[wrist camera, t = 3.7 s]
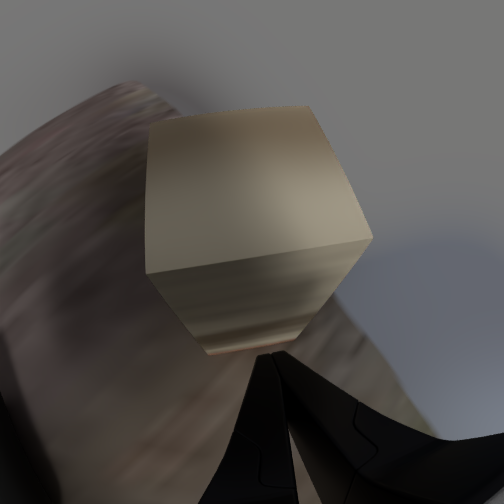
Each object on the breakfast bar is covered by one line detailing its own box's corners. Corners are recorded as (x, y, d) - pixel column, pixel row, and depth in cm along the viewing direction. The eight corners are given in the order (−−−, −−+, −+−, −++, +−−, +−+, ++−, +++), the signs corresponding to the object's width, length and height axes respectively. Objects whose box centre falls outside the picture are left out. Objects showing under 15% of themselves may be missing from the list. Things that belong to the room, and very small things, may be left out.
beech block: (294, 340, 17) (373, 237, 6) (208, 355, 16) (145, 274, 6) (275, 263, 19) (308, 105, 9) (197, 276, 18) (149, 123, 8)
